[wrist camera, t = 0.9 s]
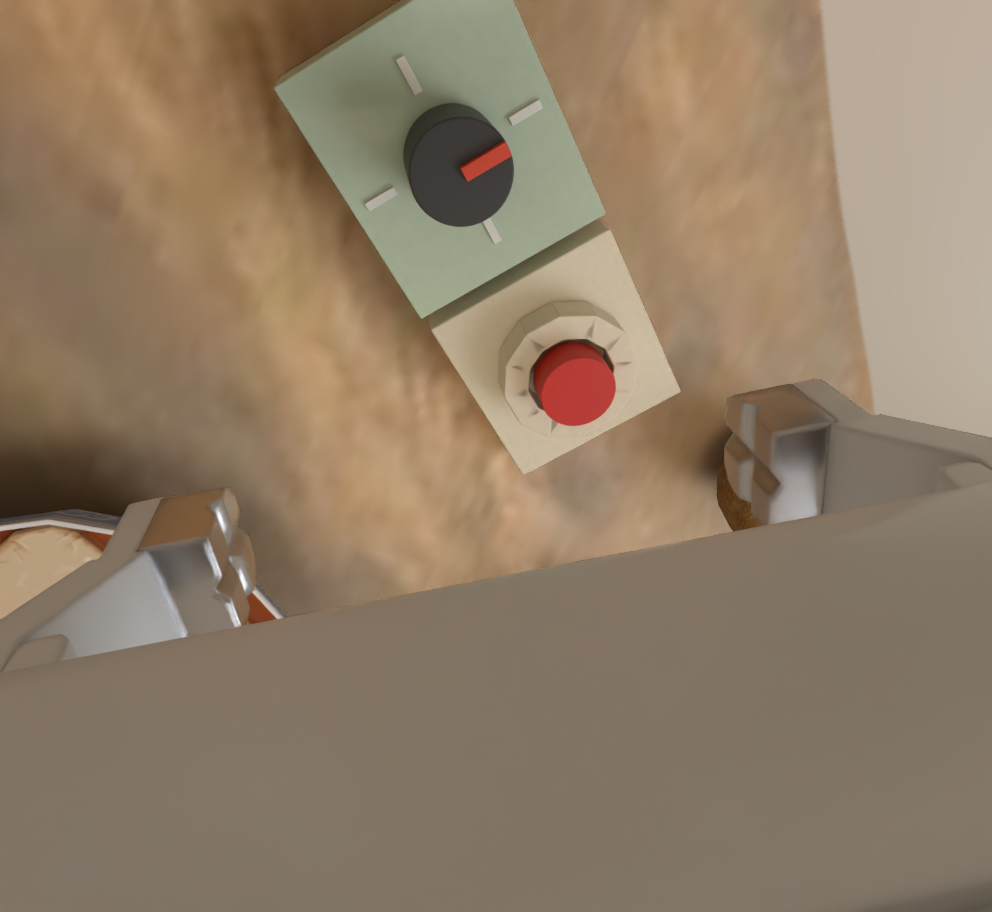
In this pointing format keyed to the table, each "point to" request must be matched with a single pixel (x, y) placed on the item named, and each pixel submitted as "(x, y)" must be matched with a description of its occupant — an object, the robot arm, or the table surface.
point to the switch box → (554, 341)
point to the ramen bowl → (68, 556)
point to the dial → (457, 165)
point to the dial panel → (403, 99)
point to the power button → (574, 384)
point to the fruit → (733, 504)
